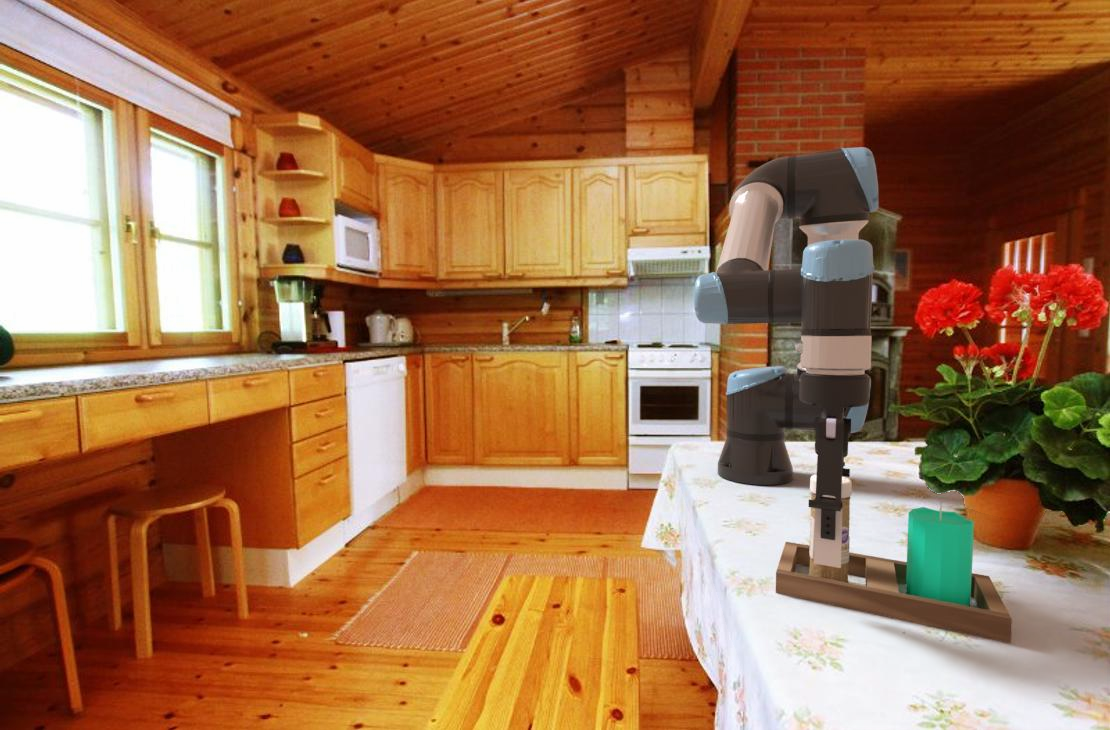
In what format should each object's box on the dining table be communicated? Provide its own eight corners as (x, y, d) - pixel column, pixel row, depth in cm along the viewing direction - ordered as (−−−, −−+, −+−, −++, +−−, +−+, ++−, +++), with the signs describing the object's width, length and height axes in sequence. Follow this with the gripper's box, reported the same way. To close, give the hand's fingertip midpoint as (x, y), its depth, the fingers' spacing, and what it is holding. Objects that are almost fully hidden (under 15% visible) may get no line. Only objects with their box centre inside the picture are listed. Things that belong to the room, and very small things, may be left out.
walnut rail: (785, 559, 74) (785, 541, 74) (988, 596, 63) (989, 576, 63) (775, 592, 65) (776, 572, 64) (1010, 642, 54) (1011, 618, 54)
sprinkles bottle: (836, 596, 63) (839, 484, 63) (800, 581, 67) (802, 476, 66) (856, 586, 66) (859, 478, 65) (820, 572, 70) (823, 470, 69)
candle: (973, 626, 57) (978, 515, 56) (906, 610, 60) (909, 505, 59) (966, 601, 62) (971, 499, 61) (904, 588, 65) (908, 491, 64)
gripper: (807, 364, 77) (804, 508, 79) (789, 379, 56) (785, 577, 57) (867, 365, 74) (863, 516, 75) (873, 382, 52) (866, 594, 53)
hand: (829, 543), depth 66 cm, fingers open, 13 cm apart
